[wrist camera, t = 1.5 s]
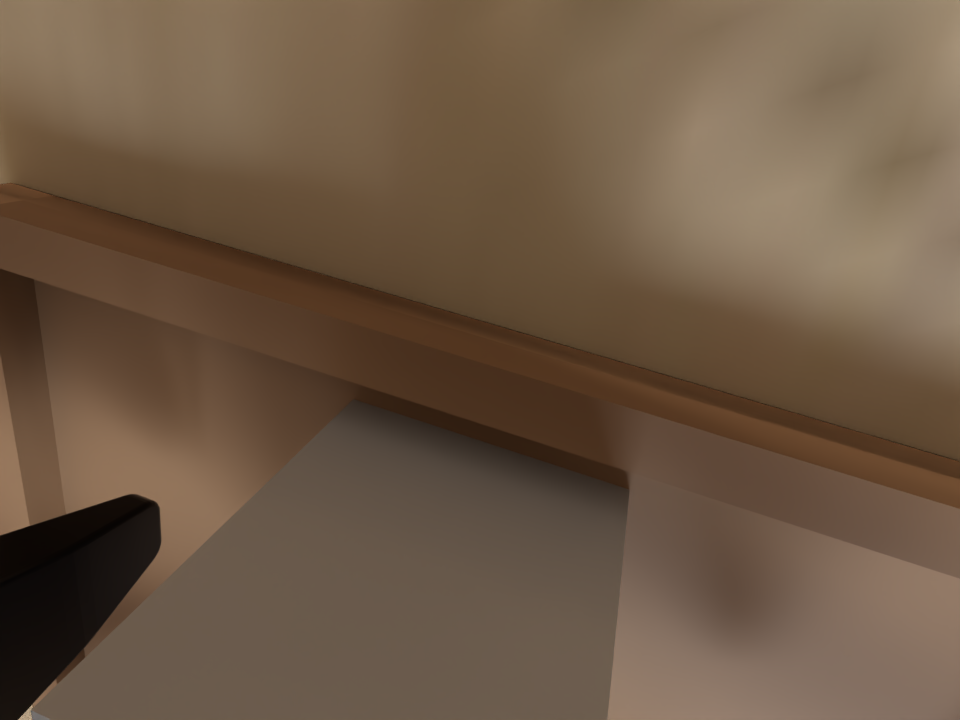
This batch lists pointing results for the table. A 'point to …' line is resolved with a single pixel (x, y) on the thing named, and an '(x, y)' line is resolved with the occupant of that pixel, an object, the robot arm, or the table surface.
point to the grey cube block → (379, 593)
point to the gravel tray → (492, 419)
